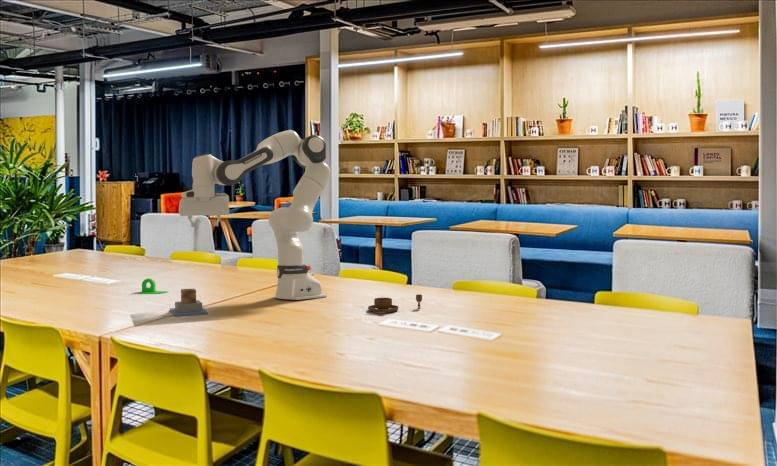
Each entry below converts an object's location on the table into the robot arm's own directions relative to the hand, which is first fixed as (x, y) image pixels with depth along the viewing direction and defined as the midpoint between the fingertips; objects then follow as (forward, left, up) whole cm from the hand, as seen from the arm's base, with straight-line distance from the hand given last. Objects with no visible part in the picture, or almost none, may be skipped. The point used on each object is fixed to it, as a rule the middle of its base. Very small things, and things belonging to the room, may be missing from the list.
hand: (204, 226), depth 277 cm
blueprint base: (+10, +19, -32) cm, 39 cm away
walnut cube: (+10, +19, -29) cm, 36 cm away
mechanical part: (+18, -36, -33) cm, 52 cm away
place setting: (-63, +50, -33) cm, 87 cm away
